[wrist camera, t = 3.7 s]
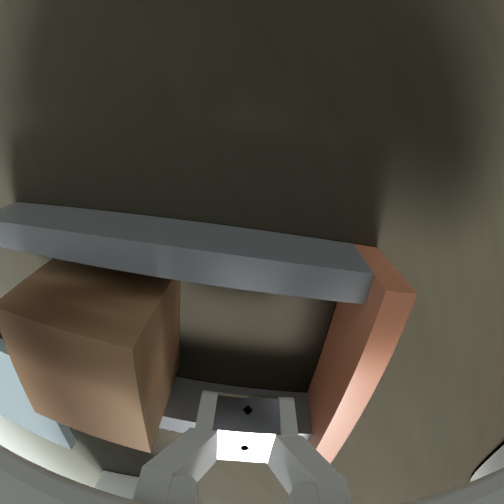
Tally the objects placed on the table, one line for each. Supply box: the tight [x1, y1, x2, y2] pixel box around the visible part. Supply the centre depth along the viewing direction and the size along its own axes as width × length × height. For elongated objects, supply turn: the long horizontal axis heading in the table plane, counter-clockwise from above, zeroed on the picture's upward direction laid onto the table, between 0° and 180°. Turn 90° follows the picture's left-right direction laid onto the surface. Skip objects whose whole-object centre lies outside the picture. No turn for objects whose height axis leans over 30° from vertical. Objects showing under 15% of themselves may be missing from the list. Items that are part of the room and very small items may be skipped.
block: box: [0, 258, 180, 453], centre depth 10 cm, size 5×5×5 cm
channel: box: [0, 202, 417, 463], centre depth 11 cm, size 15×8×4 cm, turn 83°
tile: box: [0, 338, 76, 450], centre depth 15 cm, size 9×9×1 cm
